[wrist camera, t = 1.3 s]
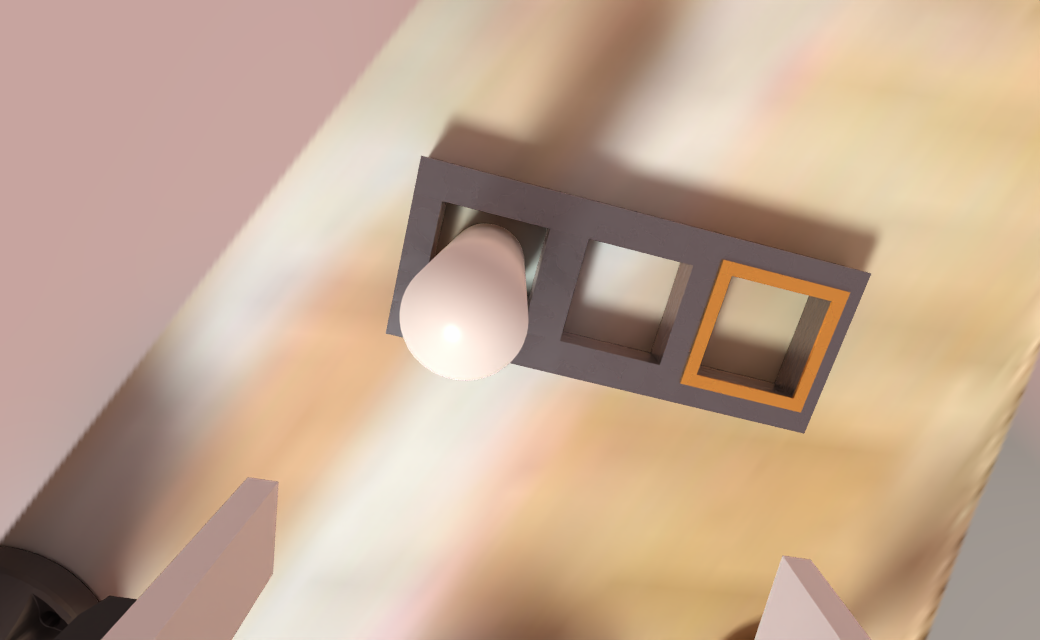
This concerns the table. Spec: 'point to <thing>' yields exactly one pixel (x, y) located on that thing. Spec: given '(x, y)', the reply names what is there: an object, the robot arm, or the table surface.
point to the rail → (687, 310)
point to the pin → (468, 305)
